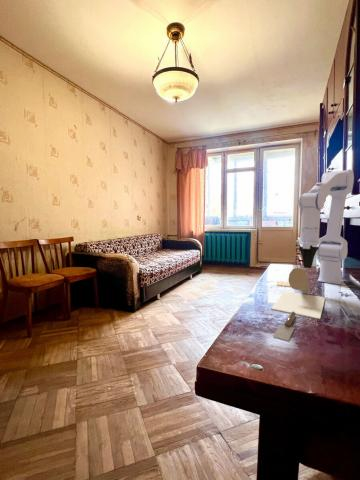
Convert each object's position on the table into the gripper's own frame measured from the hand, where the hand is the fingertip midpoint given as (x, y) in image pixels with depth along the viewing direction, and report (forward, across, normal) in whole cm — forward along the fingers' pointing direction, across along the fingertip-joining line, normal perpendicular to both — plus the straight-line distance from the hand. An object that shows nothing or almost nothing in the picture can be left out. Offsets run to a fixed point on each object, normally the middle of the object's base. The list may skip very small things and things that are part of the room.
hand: (307, 267), depth 86 cm
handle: (+7, +2, 0) cm, 7 cm away
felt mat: (+8, +15, 0) cm, 17 cm away
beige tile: (+9, -5, -8) cm, 13 cm away
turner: (+9, +34, 0) cm, 35 cm away
